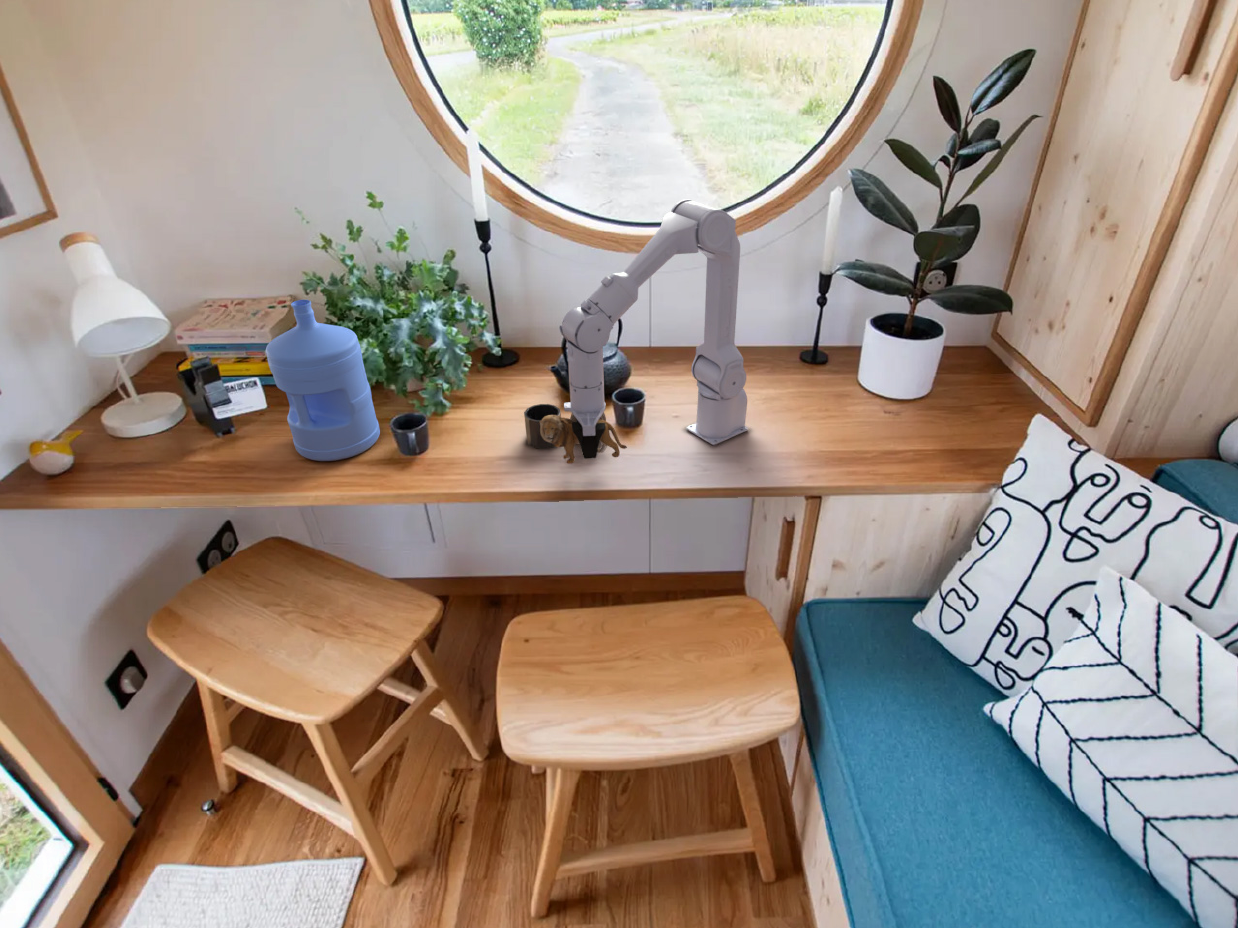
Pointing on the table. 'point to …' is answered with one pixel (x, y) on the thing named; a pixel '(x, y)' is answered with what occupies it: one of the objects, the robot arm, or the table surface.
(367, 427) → the water jug
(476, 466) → the table surface
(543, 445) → the tea cup
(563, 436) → the lion figurine
